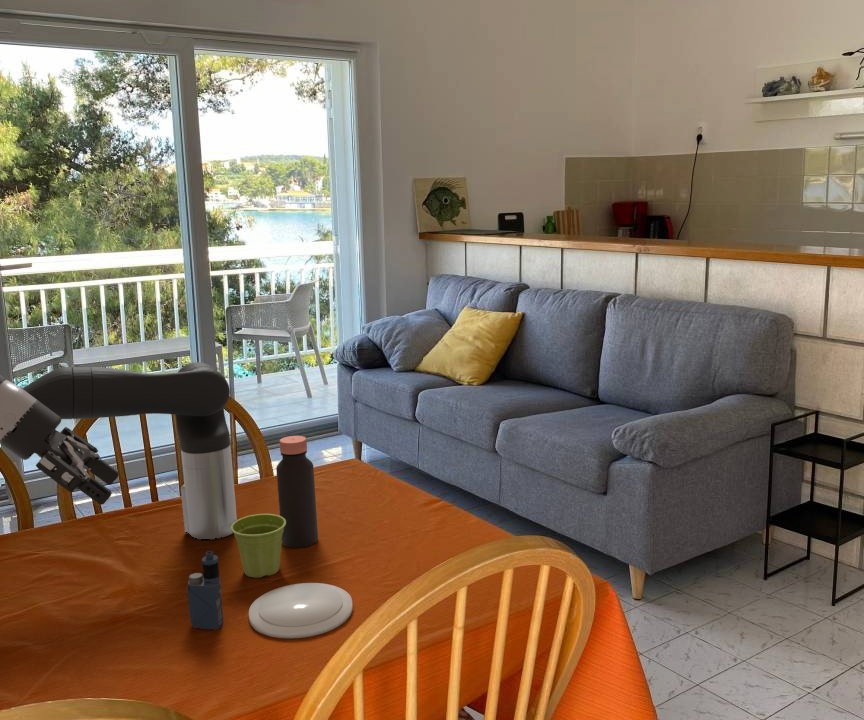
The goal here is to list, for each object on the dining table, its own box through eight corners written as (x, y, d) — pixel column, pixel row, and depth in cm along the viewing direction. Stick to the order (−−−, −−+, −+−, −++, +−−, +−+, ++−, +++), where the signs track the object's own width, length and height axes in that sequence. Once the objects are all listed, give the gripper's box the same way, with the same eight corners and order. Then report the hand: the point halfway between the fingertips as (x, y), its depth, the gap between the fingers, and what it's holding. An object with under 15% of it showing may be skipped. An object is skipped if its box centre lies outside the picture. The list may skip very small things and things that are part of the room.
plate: (227, 626, 130) (226, 617, 130) (288, 582, 144) (288, 574, 144) (315, 647, 123) (315, 638, 123) (371, 598, 138) (370, 590, 137)
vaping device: (220, 631, 129) (213, 556, 127) (187, 628, 130) (180, 554, 128) (227, 622, 132) (220, 549, 129) (195, 620, 133) (188, 547, 130)
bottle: (311, 531, 166) (305, 432, 162) (323, 544, 160) (316, 441, 156) (277, 538, 163) (269, 437, 159) (287, 551, 157) (279, 446, 153)
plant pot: (299, 562, 152) (295, 516, 150) (272, 585, 143) (268, 537, 142) (252, 556, 155) (249, 511, 153) (224, 579, 146) (219, 531, 145)
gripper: (10, 426, 126) (101, 492, 131) (-17, 454, 112) (86, 526, 117) (44, 388, 126) (134, 455, 131) (22, 411, 112) (123, 485, 117)
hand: (111, 489), depth 124 cm, fingers open, 8 cm apart
